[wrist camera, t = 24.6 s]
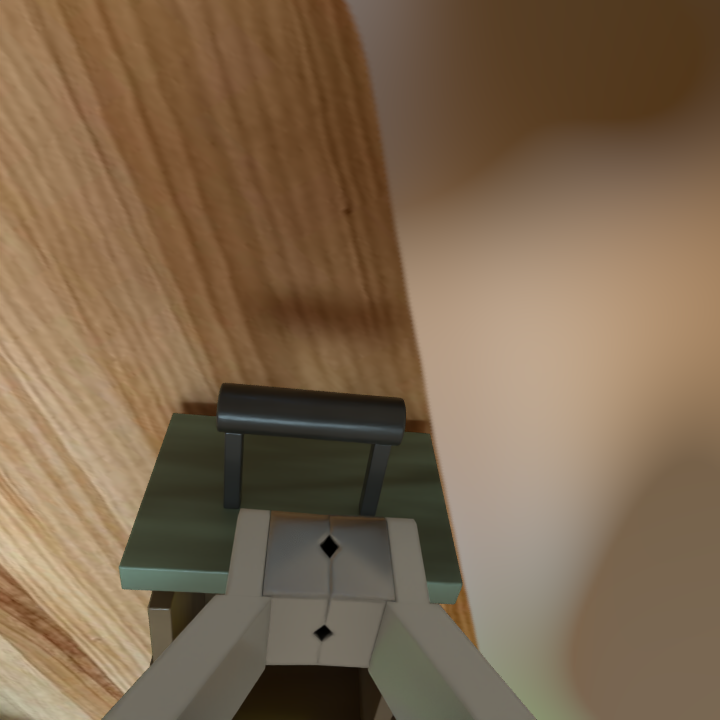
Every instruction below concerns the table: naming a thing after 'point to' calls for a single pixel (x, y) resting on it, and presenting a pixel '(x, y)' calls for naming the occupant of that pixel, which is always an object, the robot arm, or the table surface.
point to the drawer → (282, 493)
